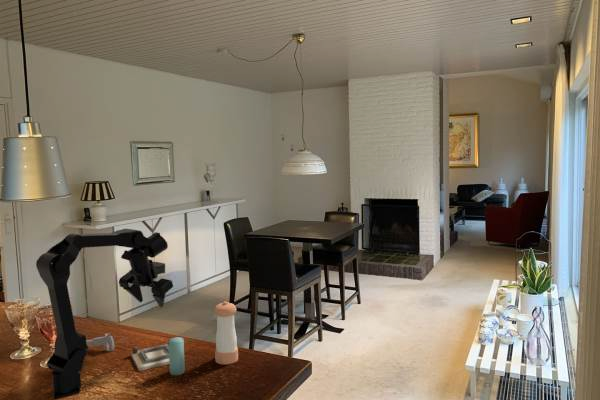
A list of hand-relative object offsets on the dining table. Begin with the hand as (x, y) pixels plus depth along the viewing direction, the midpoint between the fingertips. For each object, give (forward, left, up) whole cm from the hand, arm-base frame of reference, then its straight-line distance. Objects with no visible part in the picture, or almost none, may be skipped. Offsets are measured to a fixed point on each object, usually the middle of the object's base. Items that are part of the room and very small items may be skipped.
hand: (151, 304), depth 157 cm
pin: (+2, -21, -16) cm, 26 cm away
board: (-1, -8, -16) cm, 17 cm away
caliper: (-20, +12, -16) cm, 28 cm away
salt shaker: (+18, -21, -16) cm, 32 cm away
